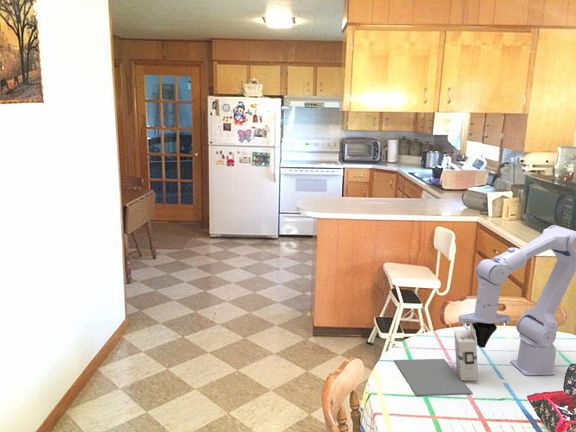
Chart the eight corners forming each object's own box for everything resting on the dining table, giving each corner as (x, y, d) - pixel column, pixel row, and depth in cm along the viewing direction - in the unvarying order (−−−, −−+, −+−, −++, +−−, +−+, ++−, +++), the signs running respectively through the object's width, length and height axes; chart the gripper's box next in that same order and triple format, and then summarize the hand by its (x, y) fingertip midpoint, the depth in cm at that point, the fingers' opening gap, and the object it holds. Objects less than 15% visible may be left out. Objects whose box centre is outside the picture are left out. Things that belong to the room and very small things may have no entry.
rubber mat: (443, 360, 144) (444, 358, 144) (472, 394, 126) (472, 392, 126) (394, 361, 142) (394, 359, 142) (416, 396, 125) (416, 394, 124)
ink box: (456, 367, 140) (452, 320, 138) (473, 366, 139) (470, 319, 137) (460, 380, 132) (457, 331, 130) (479, 380, 131) (475, 330, 129)
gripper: (503, 296, 136) (496, 339, 138) (456, 296, 134) (450, 339, 137) (517, 306, 129) (510, 350, 132) (468, 306, 127) (462, 351, 130)
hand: (480, 346), depth 134 cm, fingers closed
